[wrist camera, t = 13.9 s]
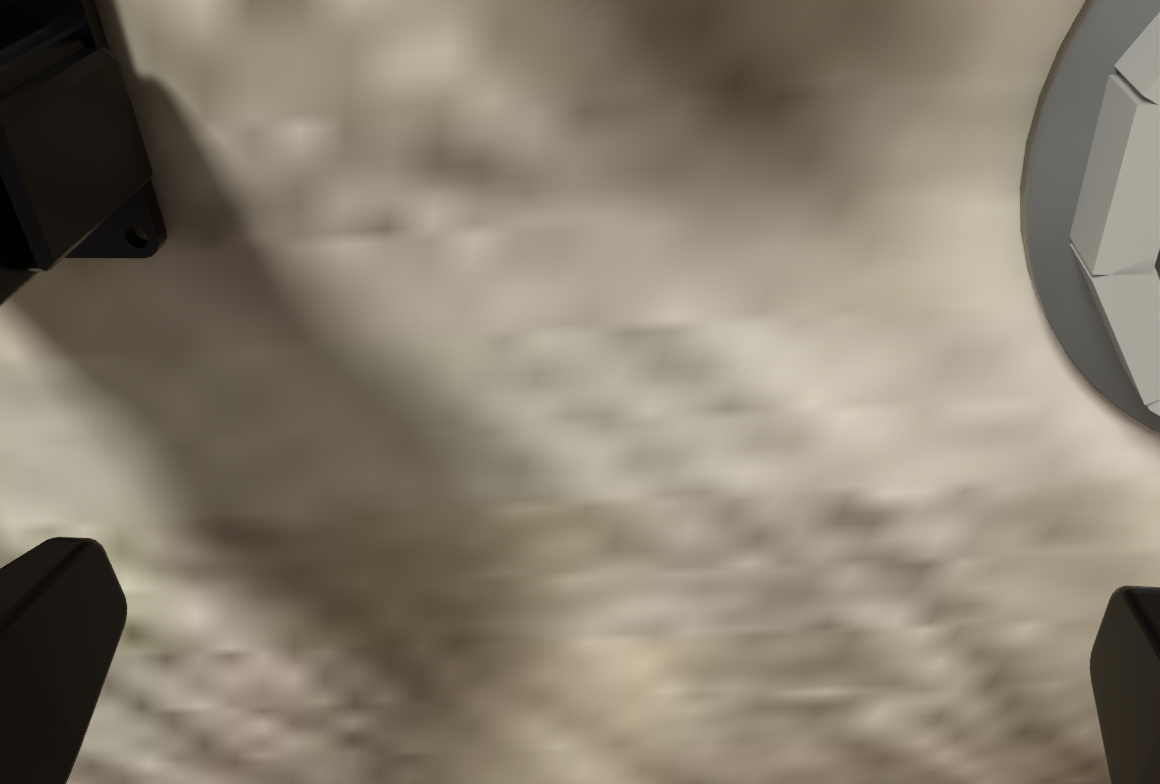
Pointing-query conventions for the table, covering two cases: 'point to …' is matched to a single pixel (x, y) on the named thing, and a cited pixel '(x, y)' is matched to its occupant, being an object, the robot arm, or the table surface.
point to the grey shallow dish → (1101, 201)
